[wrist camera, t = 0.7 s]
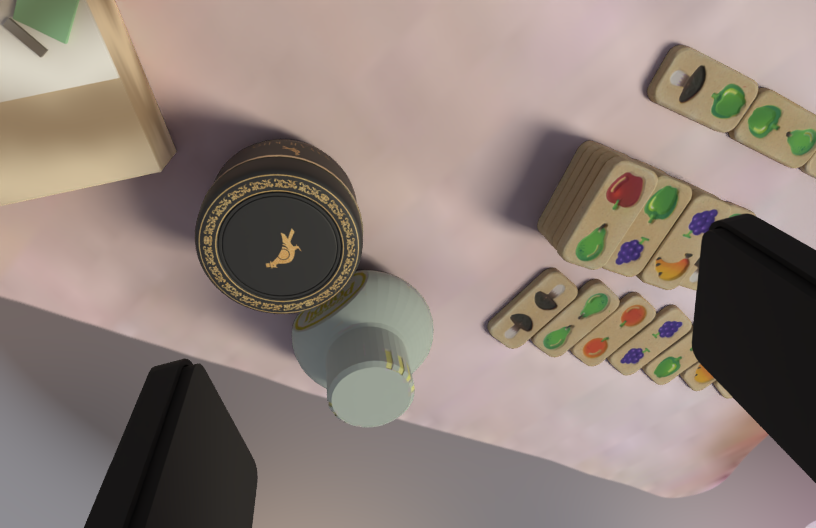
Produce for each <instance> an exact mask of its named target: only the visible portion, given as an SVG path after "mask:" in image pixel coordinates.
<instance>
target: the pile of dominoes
mask: <svg viewBox="0 0 816 528" xmlns="http://www.w3.org/2000/svg"><path fill="white" fill-rule="evenodd" d="M647 94H648V97H649V99H650V100H651V101H652V102H654V103H657V104H659V105H661V106H663V107H665V108H667V109H669V110H671V111H674V112H676V113H678V114H680V115H682V116H684V117H687V118H689V119H691V120H693V121H695V122H697V123H699V124H702V125H704V126H706V127H708V128H710V129H712V130H715V131H718V132H722V133H724V132H728V134H729V136H730V138H732V139H733V140H735V141H737V142H739V143H741V144H743V145H745V146H747V147H749V148H751V149H753V150H755V151H757V152H759V153H761V154H763V155H765V156H767V157H769V158H771V159H773V160H775V161H777V162H779V163H781V164H783V165H785V166H787V167H790V168H799V167H800V170H801V171H802V172H804V173H806V174H808V175H810V176H812V177H814V178H816V115H815V114H813V113H811V112H810V111H808V110H806V109H804V108H803V107H801V106H799V105H797V104H796V103H794V102H792V101H790V100H789V99H787V98H785V97H783V96H782V95H780V94H778V93H776V92H775V91H773V90H770V89H768V88H759V89H758V84H757V83H756V82H755V81H754V80H753V79H751V78H749V77H747V76H745V75H743V74H741V73H739V72H738V71H736V70H734V69H732V68H730V67H728V66H726V65H724V64H722V63H720V62H718V61H716V60H714V59H712V58H710V57H708V56H706V55H704V54H702V53H700V52H698V51H697V50H695V49H693V48H691V47H688V46H684V45H677V46H674V47H673V48H672V49H670V50H669V52H668V54H667V55H666V57H665V58H664V60H663V62H662V63H661V65H660V67H659V69H658V70H657V72H656V74H655V76H654V77H653V79H652V81H651V83H650V85H649V87H648V89H647ZM746 213H749V214H752V215H754V216H756V215H755V214H754V213H753V212H752V211H750V210H748V209H746V208H743V207H741V206H738V205H736V204H733V203H731V202H725V201H723V200H721V199H719V198H718V197H716V196H715V195H713V194H711V193H709V192H706V191H704V190H702V189H700V188H698V187H696V186H694V185H692V184H689V183H687V182H684V181H682V180H680V179H677V178H674V177H672V176H669V175H667V174H665V172H663V171H662V170H660V169H657V168H655V167H653V166H651V165H648V164H646V163H644V162H641V161H639V160H637V159H631V158H630V157H628V156H627V155H625V154H623V153H621V152H618V151H616V150H614V149H611V148H609V147H606V146H604V145H602V144H599V143H597V142H594V141H590V140H589V141H586V142H584V143H583V144H581V145H580V146H579V148H578V149H577V151H576V153H575V155H574V157H573V159H572V160H571V162H570V164H569V166H568V168H567V169H566V171H565V173H564V175H563V177H562V179H561V180H560V182H559V184H558V186H557V188H556V189H555V191H554V193H553V195H552V197H551V199H550V200H549V202H548V204H547V206H546V208H545V209H544V211H543V213H542V215H541V217H540V219H539V220H538V224H537V228H538V231H539V232H540V233H541V234H542V235H543V236H544V237H545V238H546V239H547V240H548V242H549V243H550V244H551V245H552V246H553V247H554V248H555V249H556V250H557V252H558V254H559V255H560V256H561V257H562V258H563V259H564V260H565V261H567V262H569V263H572V264H575V265H578V266H582V267H585V268H588V269H592V270H596V269H599V268H601V267H602V268H603V269H606V270H609V271H612V272H615V273H618V274H621V275H624V276H626V277H633V276H635V275H636V276H637V277H638V278H639V279H640V280H641V281H642V282H644V283H647V284H650V285H653V286H656V287H659V288H662V289H665V290H671V289H674V288H676V287H677V286H683V287H686V288H689V289H693V290H697V282H698V271H699V261H700V251H701V240H702V236H703V234H704V233H705V232H707V231H709V227H710V226H711V224H712V223H713V222H715V221H717V220H721V219H725V218H729V217H733V216H737V215H740V214H746ZM487 328H488V331H489V332H490V334H491V335H492V336H493V337H494V338H496V339H497V340H498V341H500V342H501V343H502V344H504V345H505V346H506V347H508V348H512V349H514V348H518V347H520V346H522V345H523V344H524V343H525V342H526V341H528V340H529V339H530V338H531V340H532V342H533V343H534V345H535V346H537V347H538V348H539V349H541V350H542V351H543V352H545V353H546V354H547V355H549V356H551V357H559V356H561V355H563V354H564V353H565V352H566V351H568V350H569V349H570V351H571V352H572V353H573V355H575V356H576V357H577V358H579V359H580V360H581V361H582V362H584V363H585V364H586V365H588V366H596V365H598V364H600V363H601V362H602V361H604V360H605V359H606V358H607V360H608V361H609V362H610V363H611V364H612V365H613V366H614V367H615V368H616V369H617V370H618V371H619V372H620V373H621V374H623V375H631V374H634V373H635V372H636V371H638V370H639V369H640V368H642V369H643V371H644V372H645V373H646V374H647V375H648V376H649V377H650V378H651V379H652V380H653V381H654V382H655V383H656V384H658V385H663V384H666V383H668V382H670V381H671V380H672V379H674V378H675V377H676V376H678V375H679V374H680V376H681V377H682V378H683V380H684V381H685V382H686V383H687V384H688V386H689V387H690V388H691V389H692V390H694V391H700V390H703V389H704V388H706V387H707V386H709V385H710V384H711V383H713V384H714V385H715V387H716V388H717V389H718V391H719V392H720V393H721V395H722V396H723V397H725V398H733V397H732V396H731V395H730V394H729V393H728V392H727V391H726V390H725V389H724V388H723V387H722V386H721V385H720V384H719V383H718V382H717V381H716V379H715V378H714V377H713V376H712V375H711V374H710V373H709V372H708V371H707V370H706V369H705V368H704V367H703V366H702V365H701V364H700V363H699V362H698V360H697V359H696V357H695V355H694V353H693V350H692V333H693V325H692V323H691V321H690V320H689V319H688V317H687V316H686V315H685V314H684V313H683V312H682V311H681V310H680V309H679V308H678V307H677V306H676V305H668V306H666V307H664V308H663V309H662V310H660V311H659V312H658V313H657V314H656V311H655V308H654V307H653V306H652V305H651V304H650V303H649V302H648V301H646V300H645V299H644V298H643V297H642V296H641V295H640V294H639V293H637V292H631V293H629V294H627V295H625V296H624V297H623V298H622V299H621V300H619V298H618V297H617V296H616V295H615V294H614V293H613V292H612V291H611V290H610V289H609V288H608V287H607V286H606V285H605V284H604V283H603V282H602V281H600V280H598V279H593V280H590V281H588V282H587V283H586V284H584V285H583V286H582V287H581V288H580V289H579V290H577V287H576V286H575V285H574V284H573V283H572V282H571V281H570V280H569V279H568V278H567V277H565V276H564V275H563V274H562V273H561V272H560V271H559V270H557V269H556V268H549V269H546V270H544V271H543V272H542V273H541V274H540V275H539V276H538V277H537V278H535V279H534V280H533V281H532V282H531V283H530V284H529V285H528V286H527V287H526V288H525V289H524V290H523V291H521V292H520V293H519V294H518V295H517V296H516V297H515V298H514V299H513V300H512V301H511V302H510V303H508V304H507V305H506V306H505V307H504V308H503V309H502V310H501V311H500V312H499V313H498V314H496V315H495V316H494V317H493V318H492V319H491V320H490V321H489V323H488V327H487Z"/></svg>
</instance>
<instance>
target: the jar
mask: <svg viewBox="0 0 816 528" xmlns="http://www.w3.org/2000/svg"><path fill="white" fill-rule="evenodd" d="M195 245H196V251H197V255H198V259H199V261H200V264H201V266H202V268H203V270H204V272H205V273H206V275H207V276H208V278H209V279H210V280H211V282H212V283H213V284H214V285H215V286H216V287H217V288H218V289H219V290H220V291H221V292H222V293H223V294H225V295H226V296H227V297H229V298H230V299H232V300H233V301H235V302H237V303H239V304H241V305H243V306H245V307H248V308H250V309H253V310H257V311H261V312H266V313H274V314H290V313H298V312H303V311H307V310H310V309H313V308H316V307H318V306H320V305H322V304H324V303H326V302H328V301H329V300H331V299H332V298H334V297H335V296H336V295H337V294H339V293H340V292H341V291H342V290H343V289H344V288H345V287H346V286H347V284H348V283H349V282H350V280H351V279H352V277H353V276H354V274H355V272H356V270H357V268H358V265H359V262H360V259H361V254H362V248H363V224H362V218H361V213H360V210H359V207H358V205H357V201H356V196H355V192H354V189H353V187H352V184H351V182H350V180H349V178H348V177H347V175H346V173H345V172H344V171H343V169H342V168H341V167H340V166H339V165H338V163H337V162H336V161H334V160H333V159H332V158H331V157H330V156H329V155H327V154H326V153H324V152H323V151H321V150H319V149H318V148H316V147H314V146H312V145H309V144H307V143H303V142H300V141H295V140H288V139H276V140H268V141H263V142H260V143H256V144H254V145H251V146H249V147H247V148H245V149H243V150H242V151H240V152H238V153H237V154H236V155H234V156H233V157H232V158H231V159H230V160H229V161H228V162H227V163H226V164H225V165H224V167H223V168H222V169H221V171H220V172H219V174H218V176H217V177H216V179H215V181H214V183H213V185H212V186H211V188H210V189H209V191H208V192H207V194H206V196H205V198H204V201H203V203H202V205H201V209H200V212H199V215H198V218H197V222H196V228H195Z"/></svg>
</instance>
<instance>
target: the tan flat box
mask: <svg viewBox="0 0 816 528" xmlns="http://www.w3.org/2000/svg"><path fill="white" fill-rule="evenodd" d="M176 152H177V151H176V149H175V146H174V144H173V141H172V139H171V136H170V134H169V132H168V129H167V127H166V124H165V122H164V119H163V117H162V115H161V112H160V110H159V107H158V105H157V102H156V100H155V98H154V95H153V93H152V90H151V88H150V85H149V83H148V81H147V78H146V76H145V73H144V71H143V68H142V66H141V64H140V61H139V59H138V56H137V54H136V51H135V49H134V46H133V44H132V42H131V39H130V37H129V34H128V32H127V29H126V27H125V25H124V22H123V20H122V17H121V15H120V12H119V10H118V8H117V5H116V3H115V0H0V206H4V205H8V204H13V203H18V202H22V201H27V200H32V199H36V198H41V197H46V196H50V195H55V194H60V193H64V192H69V191H74V190H78V189H83V188H88V187H92V186H97V185H102V184H106V183H111V182H116V181H120V180H125V179H130V178H134V177H139V176H143V175H148V174H153V173H157V172H161V171H162V170H163V169H164V167H165V166H166V165H167V164H168V162H169V161H170V160H171V158H172V157H173V156H174V155H175V153H176Z"/></svg>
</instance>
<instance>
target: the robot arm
mask: <svg viewBox="0 0 816 528" xmlns="http://www.w3.org/2000/svg"><path fill="white" fill-rule="evenodd" d="M692 350H693V353H694V355H695V357H696V359H697V360H698V362H699V363H700V364H701V365H702V366H703V367H704V368H705V369H706V370H707V371H708V372H709V373H710V374H711V375H712V376H713V377H714V378H715V379H716V381H717V382H718V383H719V384H720V385H721V386H722V387H723V388H724V389H725V390H726V391H727V392H728V393H729V394H730V395H731V396H732V397H733V398H734V399H735V400H736V401H737V402H738V403H739V404H740V405H741V406H742V407H743V408H744V409H745V410H746V412H747V413H748V414H749V415H750V416H751V417H752V418H753V419H754V420H755V421H756V422H757V423H758V424H759V425H760V426H761V427H762V428H763V429H764V430H765V431H766V432H767V433H768V434H769V435H770V436H771V437H772V438H773V439H774V440H775V441H776V442H777V444H778V445H779V446H780V447H781V448H782V449H783V450H784V451H785V452H786V453H787V454H788V455H789V456H790V457H791V458H792V459H793V460H794V461H795V462H796V463H797V464H798V465H799V466H800V467H801V468H802V469H803V470H804V471H805V472H806V473H807V475H808V476H809V477H810V478H812V480H813V481H814V482H815V483H816V250H814V249H813V248H811V247H809V246H807V245H806V244H804V243H802V242H800V241H799V240H797V239H795V238H793V237H792V236H790V235H788V234H786V233H784V232H783V231H781V230H779V229H777V228H776V227H774V226H772V225H770V224H769V223H767V222H765V221H763V220H761V219H760V218H758V217H756V216H754V215H752V214H749V213H746V214H740V215H737V216H733V217H729V218H725V219H721V220H717V221H715V222H713V223H712V224H711V226H710V227H709V231H707V232H705V233H704V234H703V236H702V240H701V251H700V261H699V271H698V282H697V292H696V302H695V313H694V323H693V333H692ZM256 489H257V468H256V464H255V461H254V459H253V457H252V455H251V453H250V451H249V449H248V448H247V446H246V444H245V442H244V440H243V438H242V437H241V435H240V433H239V431H238V429H237V427H236V426H235V424H234V422H233V420H232V418H231V416H230V414H229V413H228V411H227V409H226V407H225V405H224V403H223V402H222V400H221V398H220V396H219V395H218V392H217V390H216V389H215V387H214V385H213V383H212V381H211V379H210V378H209V376H208V374H207V372H206V370H205V369H204V367H203V366H202V365H201V364H194V365H193V364H192V362H191V361H190V360H188V359H182V360H178V361H174V362H170V363H166V364H162V365H158V366H155V367H153V368H152V369H151V370H150V372H149V374H148V376H147V379H146V381H145V383H144V386H143V388H142V391H141V393H140V395H139V398H138V400H137V402H136V405H135V407H134V410H133V412H132V414H131V417H130V419H129V422H128V424H127V426H126V429H125V431H124V434H123V436H122V438H121V441H120V443H119V446H118V448H117V451H116V453H115V455H114V458H113V460H112V462H111V464H110V466H109V469H108V471H107V474H106V476H105V479H104V481H103V483H102V485H101V488H100V490H99V493H98V495H97V497H96V500H95V502H94V505H93V507H92V510H91V512H90V514H89V517H88V519H87V521H86V524H85V526H84V528H252V523H253V514H254V506H255V497H256Z"/></svg>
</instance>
